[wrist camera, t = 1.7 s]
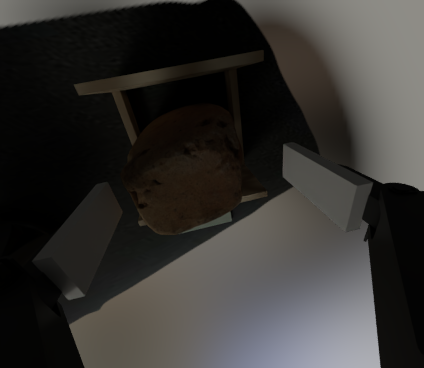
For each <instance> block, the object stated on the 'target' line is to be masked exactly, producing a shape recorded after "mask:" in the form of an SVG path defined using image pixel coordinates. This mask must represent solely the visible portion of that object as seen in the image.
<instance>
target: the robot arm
mask: <svg viewBox="0 0 424 368" xmlns="http://www.w3.org/2000/svg"><path fill="white" fill-rule="evenodd" d="M283 177H284V178H285V179H286V180H287V181H288V182H289V183H291V184H292V185H293V186H294V187H295V188H296V189H298V190H299V191H300V192H301V193H302V194H303V195H304V196H305V197H306V198H308V199H309V200H310V201H311V202H312V203H313V204H314V205H315V206H316V207H318V208H319V209H320V210H321V211H322V212H323V213H324V214H325V215H327V216H328V217H329V218H330V219H331V220H332V221H333V222H334V223H335V224H337V225H338V226H339V227H340V228H341V229H342V230H343V231H344V232H349V231H353V230H357V229H359V228H360V225H361V222H362V219H363V220H364V221H365V222H367V223H368V224H369V225H368V229H367V232H366V235H365V238H364V241H365V242H366V241H367V239H368V245H369V255H370V265H371V274H372V285H373V294H374V305H375V314H376V325H377V335H378V345H379V354H380V365H381V368H424V191H419V190H418V189H417V188H415V187H413V186H410V185H406V184H401V183H385V184H382V183H380V182H378V181H376V180H374V179H372V178H370V177H368V176H366V175H364V174H362V173H360V172H357V171H355V170H354V169H351V168H349V167H347V166H343V165H339V164H336V163H333V162H332V161H330V160H328V159H325V158H324V157H322V156H320V155H318V154H316V153H314V152H312V151H310V150H308V149H306V148H304V147H302V146H300V145H298V144H296V143H294V142H291V143H287V144H283ZM122 213H123V212H122V210H121V208H120V206H119V204H118V202H117V200H116V198H115V196H114V194H113V192H112V190H111V188H110V186H109V184H108V182H104V183H100V184H96V186H95V187H94V188H93V189H92V190H91V191H90V193H89V194H88V195H87V196H86V197H85V199H84V200H83V201H82V202H81V203H80V205H79V206H78V207H77V208H76V209H75V210H74V212H73V213H72V214H71V215H70V216H69V218H68V219H67V220H66V221H65V222H64V224H63V225H62V226H61V227H59V226H57V225H56V224H54V223H52V222H50V221H48V220H46V219H43V218H40V217H37V216H33V215H29V214H22V213H6V214H0V368H84V365H83V363H82V360H81V357H80V354H79V352H78V349H77V347H76V344H75V341H74V338H73V335H72V333H71V330H70V328H69V325H68V322H67V319H66V317H65V314H64V311H63V308H62V306H61V304H60V303H59V302H58V301H57V300H58V298H59V296H60V295H61V293H62V294H63V295H64V296H65V297H66V298H67V299H68V300H71V299H75V298H79V297H83V296H85V295H86V293H87V291H88V288H89V286H90V284H91V282H92V280H93V277H94V275H95V273H96V271H97V269H98V266H99V264H100V262H101V260H102V257H103V255H104V253H105V251H106V249H107V246H108V244H109V242H110V240H111V237H112V235H113V233H114V231H115V229H116V226H117V224H118V222H119V220H120V217H121V215H122Z"/></svg>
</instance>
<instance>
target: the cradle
mask: <svg viewBox="0 0 424 368" xmlns="http://www.w3.org/2000/svg"><path fill="white" fill-rule="evenodd" d="M260 61H264V50H260V51H254V52H249V53H244V54H238V55H233V56H227V57H222V58H216V59H211V60H206V61H200V62H195V63H189V64H184V65H178V66H173V67H168V68H162V69H157V70H151V71H146V72H140V73H135V74H130V75H124V76H119V77H113V78H108V79H102V80H97V81H92V82H86V83H81V84H75V85H74V86H75V88H76V90H77V92H78V95H87V94H97V93H107V92H112V94H113V97H114V99H115V102H116V105H117V107H118V110H119V112H120V115H121V118H122V120H123V123H124V125H125V128H126V130H127V133H128V136H129V138H130V141H131V143H132V146H133V144H134V142H135V141H136V139H137V138H138V137H139V135H140V134H141V133H140V130H139V127H138V125H137V122H136V119H135V116H134V113H133V110H132V108H131V105H130V102H129V99H128V96H127V93H126V91H125V90H129V89H134V88H139V87H144V86H150V85H155V84H160V83H166V82H171V81H176V80H181V79H187V78H192V77H197V76H203V75H208V74H213V73H218V72H224V75H225V84H226V92H227V101H228V110H229V112H230V114H231V116H232V118H233V121H234V126H235V129H236V133H237V136H238V139H239V141H240V144H241V147H242V152H243V159H242V164H241V170H242V184H241V186H242V192H243V193H242V200H241V202H245V201H249V200H253V199H257V198H262V197H266V196H267V190H266V189H265V188H264V187H263V186H262V184H261V183H260V182H259V181H258V180H257V179H256V177H255V176H254V175H253V174H252V173H251V172H250V170H249V169H248V168H247V167H246V166H245V163H244V151H243V139H242V128H241V116H240V105H239V93H238V82H237V70H236V68H240V67H243V66H247V65H250V64H254V63H257V62H260ZM241 202H240V203H241ZM138 223H139V225H140V226H143V225H147V224H146V223H145V222H144V221H143V219H142V217H141V215H140V216H139V219H138Z"/></svg>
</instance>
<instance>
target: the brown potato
mask: <svg viewBox="0 0 424 368" xmlns="http://www.w3.org/2000/svg"><path fill="white" fill-rule="evenodd" d="M242 159H243V152H242V147H241V144H240V141H239V139H238V136H237V133H236V129H235V126H234V121H233V118H232V116H231V114H230V112H229V111H227V110H225V109H224V108H223V107H221V106H218V105H214V104H211V103H200V104H194V105H188V106H184V107H181V108H178V109H175V110H172V111H170V112H168V113H165V114H163V115H161V116H160V117H158V118H156V119H155V120H153V121H152V122H151V123H150V124H149V125H148V126H147V127H146V128H145V129H144V130H143V131H142V132H141V134H140V135H139V137H138V138H137V139H136V141H135V142H134V144H133V146H132V148H131V150H130V153H129V154H128V163H127V164H126V165H125V166H124V168H123V170H122V172H121V173H120V176H121V180H122V183H123V185H124V186H125V188H126V189H127V191H128V192H129V193H130V195H131V197H132V199H133V201H134V203H135V205H136V208H137V210H138V212H139V213H140V215H141V217H142V219H143V221H144V222H145V223H146V224H147V225H148V226H149V227H150V228H151V229H152V230H153V231H154V232H156V233H158V234H163V235H177V234H179V233H182V232H185V231H188V230H190V229H192V228H194V227H196V226H199V225H203V224H206V223H208V222H210V221H213V220H215V219H217V218H219V217H221V216H223V215H225V214H226V213H228V212H230V211H231V210H233V209H234V208H235V207H236V206H237V205H238V204H239V203H240V202H241V200H242V193H243V192H242V186H241V184H242V170H241V164H242Z"/></svg>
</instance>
